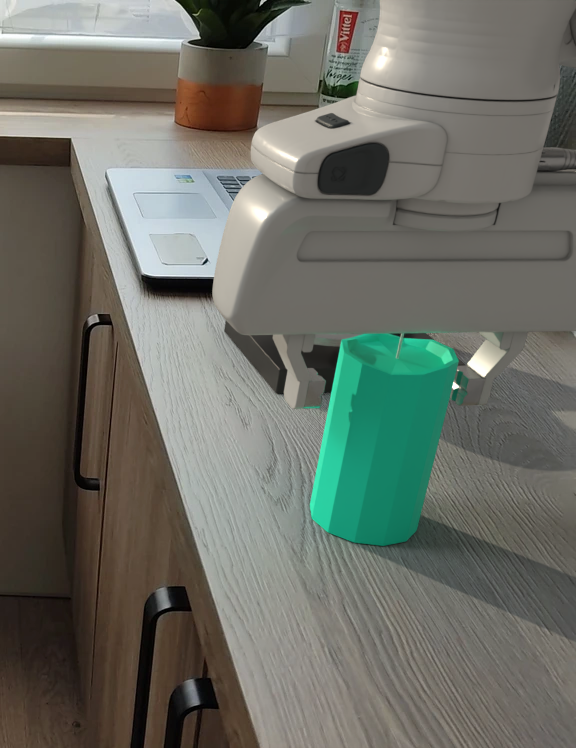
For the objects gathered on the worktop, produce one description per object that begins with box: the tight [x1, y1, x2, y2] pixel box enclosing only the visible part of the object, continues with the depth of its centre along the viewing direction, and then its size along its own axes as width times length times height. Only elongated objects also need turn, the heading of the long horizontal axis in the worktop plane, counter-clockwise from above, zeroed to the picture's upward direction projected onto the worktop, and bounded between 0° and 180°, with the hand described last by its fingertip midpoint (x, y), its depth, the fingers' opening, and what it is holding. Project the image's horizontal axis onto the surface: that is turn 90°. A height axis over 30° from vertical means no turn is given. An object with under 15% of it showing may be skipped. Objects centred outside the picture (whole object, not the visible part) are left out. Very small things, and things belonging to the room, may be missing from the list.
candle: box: [309, 333, 460, 547], centre depth 61 cm, size 6×6×12 cm
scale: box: [223, 320, 467, 394], centre depth 84 cm, size 14×12×4 cm
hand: (384, 403), depth 60 cm, fingers open, 8 cm apart
